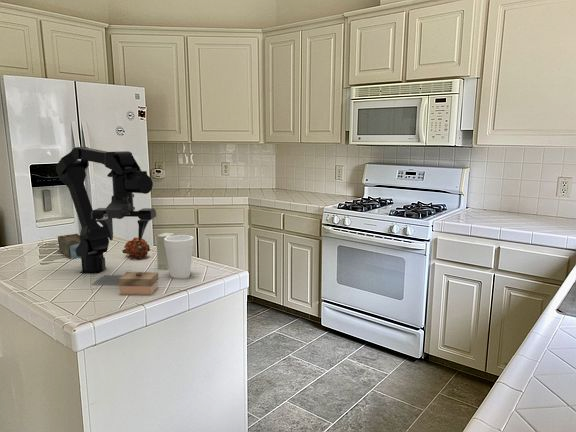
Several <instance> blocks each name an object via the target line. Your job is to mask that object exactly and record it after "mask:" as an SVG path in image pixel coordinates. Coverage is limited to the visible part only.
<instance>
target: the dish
mask: <svg viewBox="0 0 576 432" xmlns="http://www.w3.org/2000/svg"><path fill="white" fill-rule="evenodd" d="M158 285H159V284H158V280H157V281H156V282H155V283H154V284H153V285H152V286H119V291H120V294H119V295H122V296H124V295H125V296H126V295H129V296H130V295H131V296H133V295H135V296H152V295H153V294H154V293H155V292H156V291H157V290H158V288H159V287H158Z"/></svg>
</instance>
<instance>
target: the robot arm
mask: <svg viewBox="0 0 576 432" xmlns="http://www.w3.org/2000/svg"><path fill="white" fill-rule="evenodd" d="M89 162H92V163H97V164H102V165H104V167H105V168H107V169H109V170H110V172H109V173H107V177H108V178H111V179H112V180H111V181H112V195H111V201H110V203H109V204H107V206H106V207H98V208H95V209H94V208H93V207H92V204H91V201H90V199H89V195H88V191H87V188H86V186H85V180H86V176H87V172H86V171H87V169H88V167H89V166H90V163H89ZM55 171H56V174H57V176H58V178H59V180H60V182H62V183H63V184H64V185H65V187H67V188H68V191H69V193H70V197H71V200H72V202H73V203H72V204H73V207H74V209H75V212H76V214H77V217H78V220H79V224H80V226H81V230H80V233H79V235H80V236H79V237H80V244H79V245H78V247H77V248H76V250H75V251H76V254H77V256H80V257H81V258H80V259H81V260H80V261H81V270H82V271H79V274H91V275H92V274H94V275H95V274H96V275H97V274H100V273H103V271H104V270H107V267H106V258H105V257H104V253H108V249H109V243H110V241H113V240H114V225H113V223H114V222H113V219H117V220H121V219H124V218H127V217H128V218H129V217H131V218H132V217H133V218H135V217H137V218H139V219H138V220H137V224H138V237H137V238H139V241H141V239H143V237H144V236H143V235H144V233H145V230H146V227H147V225H148V223H149V222H150V221H152V220H153V219H155V218H157V211H156V209H155V208H149V207H148V208H147V207H146V208H145V207H142V208H141V209H139V210H136V207H135V206H134V198H135V194H144V195H147V194H149V193H150V192H151V191H152V189H153V187H154V185H153V180H152V178H151V177H150V176H149V175H148V171H147V170H142V169H141V167H140V166H139V164H138V163H137V161H136V159H135V157H134V156H133V153H132V151H122V150H121V151H107V150H106V151H105V150H101V149H95V148H91V147H87V146H76V147H73V148H72V150H71V151H70V152H68V153H67V154H65V155H64V156H63V157H61V158H60V160H59V161H58V162H57V164H56V166H55ZM100 224H101V225H102V226H101V225H100Z"/></svg>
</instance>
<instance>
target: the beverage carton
mask: <svg viewBox="0 0 576 432" xmlns="http://www.w3.org/2000/svg"><path fill="white" fill-rule="evenodd" d="M79 236H80V234H79V233H73V234H72V233H71V234H66V235H58V236H57V243H58V249H59V251H60V252H61V253H62V254H64V255H65V256H66V257H67V258H69V259H70V260H71V259H72V260H78V259H81V257H80V256H77V254H76V251H75V250H76V248H77V247H78V245H79V244H80V237H79ZM77 258H78V259H77Z"/></svg>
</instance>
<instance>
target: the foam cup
mask: <svg viewBox="0 0 576 432" xmlns="http://www.w3.org/2000/svg"><path fill="white" fill-rule="evenodd" d="M194 241H195V240H194V236H192V235H188V234H178V235H177V234H175V235H174V236H168V237H166V238H164V246H165V249H166V255H167V260H168V266H169V270H168V271H169V275H170V277H171V278H174V279H180V280H184V279H188V278H190V277H191V269H192V259H193V258H192V257H193V248H194Z"/></svg>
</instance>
